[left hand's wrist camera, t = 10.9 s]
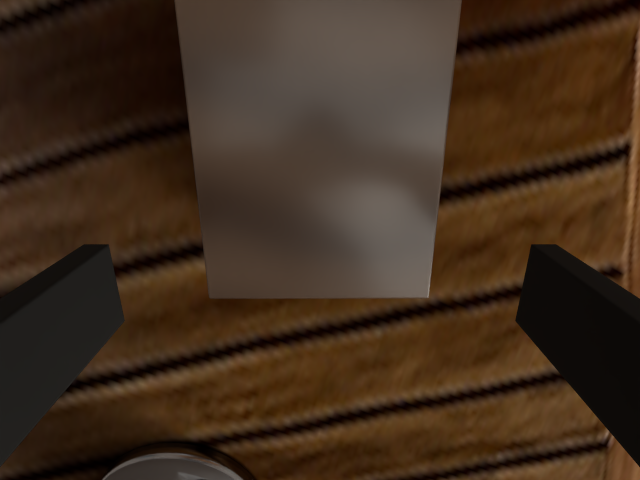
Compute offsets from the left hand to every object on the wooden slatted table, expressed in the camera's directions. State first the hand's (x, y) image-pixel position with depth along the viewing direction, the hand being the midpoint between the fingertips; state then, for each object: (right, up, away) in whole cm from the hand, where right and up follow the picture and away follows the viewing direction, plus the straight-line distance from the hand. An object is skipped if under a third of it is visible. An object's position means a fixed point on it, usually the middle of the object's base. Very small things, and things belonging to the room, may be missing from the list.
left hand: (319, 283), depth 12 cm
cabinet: (0, +10, +11) cm, 15 cm away
